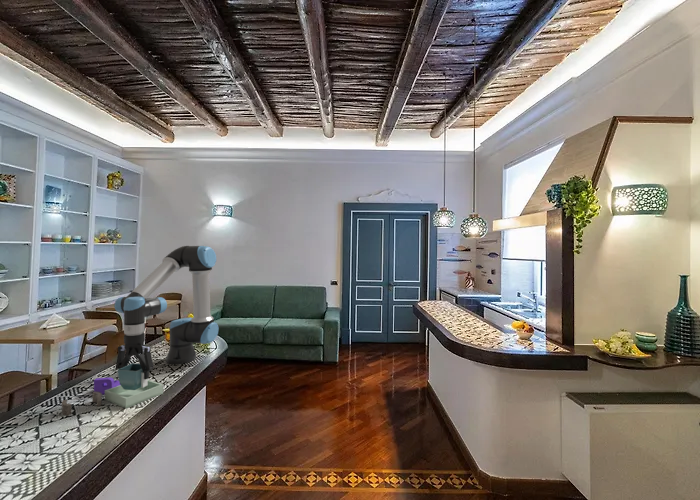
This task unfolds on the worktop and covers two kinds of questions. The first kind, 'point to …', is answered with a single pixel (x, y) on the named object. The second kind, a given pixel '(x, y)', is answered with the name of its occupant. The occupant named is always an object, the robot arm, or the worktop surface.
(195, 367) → the worktop surface
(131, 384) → the flower pot
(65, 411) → the holder
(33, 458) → the worktop surface
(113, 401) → the pale green square tray
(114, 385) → the bracket
